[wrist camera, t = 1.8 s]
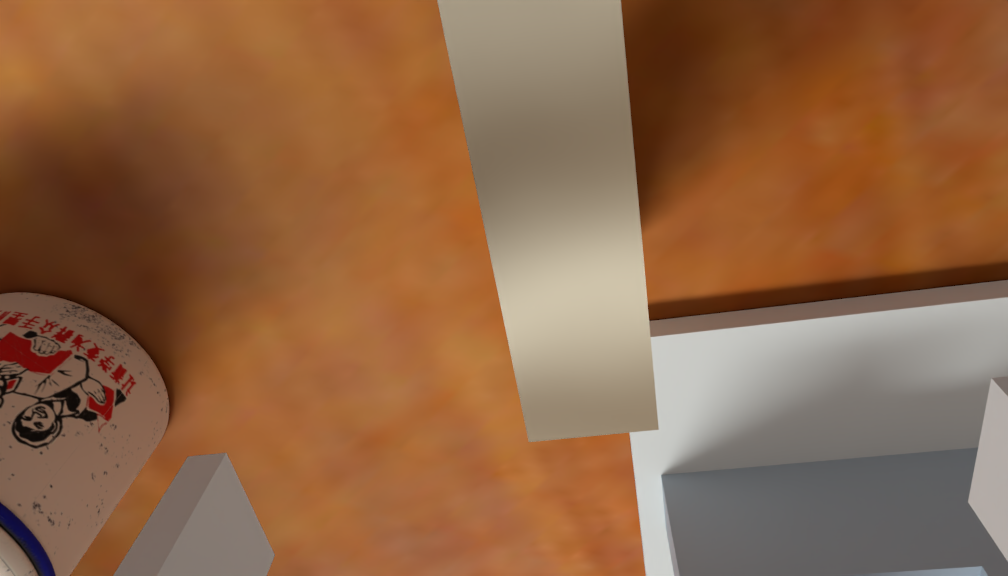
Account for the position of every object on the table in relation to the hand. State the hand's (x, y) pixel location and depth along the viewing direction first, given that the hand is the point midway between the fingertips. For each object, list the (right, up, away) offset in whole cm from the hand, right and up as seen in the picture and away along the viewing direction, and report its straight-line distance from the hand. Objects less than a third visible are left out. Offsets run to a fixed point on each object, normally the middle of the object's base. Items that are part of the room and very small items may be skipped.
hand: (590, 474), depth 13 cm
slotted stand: (+12, -4, +16) cm, 20 cm away
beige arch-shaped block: (0, +10, +8) cm, 13 cm away
